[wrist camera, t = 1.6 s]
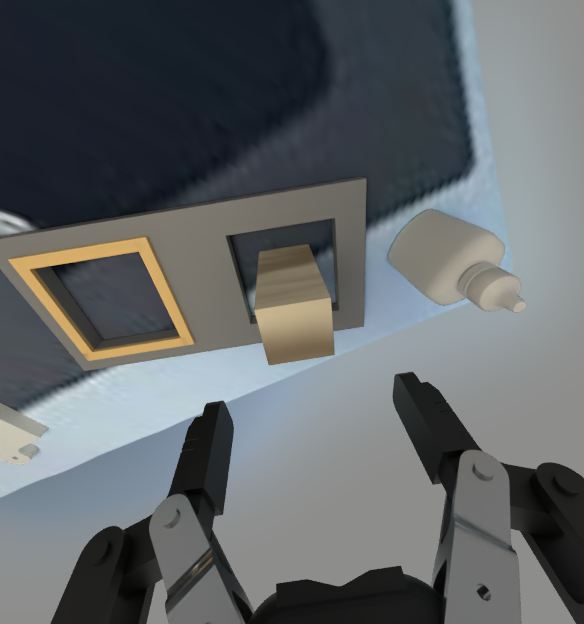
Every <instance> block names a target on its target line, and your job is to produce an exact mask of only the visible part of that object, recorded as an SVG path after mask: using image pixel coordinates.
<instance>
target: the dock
mask: <svg viewBox="0 0 584 624" xmlns="http://www.w3.org/2000/svg"><path fill="white" fill-rule="evenodd" d="M331 218H332V235H333V254H334V273H335V292H336V303H331V307H332V323H333V331H338V330H344V329H350V328H357V327H363V326H364V287H365V232H366V178H364V177H354V178H348V179H342V180H336V181H330V182H324V183H318V184H312V185H306V186H300V187H294V188H288V189H282V190H276V191H270V192H264V193H258V194H252V195H246V196H240V197H234V198H228V199H222V200H216V201H210V202H204V203H197V204H191V205H185V206H179V207H173V208H167V209H161V210H155V211H149V212H143V213H137V214H131V215H125V216H119V217H113V218H107V219H101V220H95V221H89V222H83V223H77V224H71V225H65V226H59V227H53V228H47V229H40V230H34V231H28V232H22V233H16V234H10V235H4V236H0V269H1V270H2V272H3V273H4V274H5V275H6V276H7V278H8V279H9V280H10V281H11V282H12V284H13V285H14V286H15V287H16V289H17V290H18V291H19V292H20V293H21V295H22V296H23V297H24V298H25V299H26V301H27V302H28V303H29V304H30V305H31V307H32V308H33V309H34V310H35V311H36V313H37V314H38V315H39V316H40V318H41V319H42V320H43V321H44V322H45V324H46V325H47V326H48V327H49V328H50V330H51V331H52V332H53V333H54V334H55V336H56V337H57V338H58V339H59V340H60V342H61V343H62V344H63V345H64V347H65V348H66V349H67V350H68V351H69V353H70V354H71V355H72V356H73V357H74V359H75V360H76V361H77V362H78V363H79V365H80V366H81V367H82V368H83V369H84V371H87V370H93V369H100V368H106V367H112V366H118V365H125V364H131V363H137V362H144V361H150V360H156V359H162V358H169V357H175V356H181V355H187V354H194V353H200V352H206V351H212V350H219V349H225V348H231V347H238V346H244V345H250V344H256V343H263V341H262V338H261V334H260V330H259V326H258V322H257V319H256V316H251V313H250V309H249V305H248V302H247V298H246V295H245V291H244V287H243V284H242V280H241V276H240V273H239V269H238V265H237V262H236V258H235V254H234V251H233V247H232V244H231V240H230V236H229V235H234V234H240V233H246V232H252V231H258V230H264V229H270V228H276V227H283V226H289V225H295V224H301V223H307V222H313V221H319V220H325V219H331ZM138 251H139V253H140V255H141V257H142V259H143V261H144V263H145V265H146V267H147V269H148V271H149V273H150V275H151V277H152V280H153V282H154V284H155V286H156V288H157V290H158V292H159V294H160V296H161V298H162V300H163V302H164V304H165V306H166V308H167V310H168V312H169V314H170V317H171V319H172V321H173V323H174V325H175V327H176V329H170V330H163V331H157V332H151V333H145V334H139V335H132V336H126V337H120V338H114V339H107V340H102V339H101V337H100V336H99V334H98V333H97V332H96V330H95V329H94V327H93V326H92V325H91V323H90V322H89V320H88V319H87V317H86V316H85V315H84V313H83V312H82V310H81V309H80V308H79V306H78V305H77V303H76V302H75V301H74V299H73V298H72V296H71V295H70V293H69V292H68V291H67V289H66V288H65V286H64V285H63V284H62V282H61V281H60V279H59V278H58V276H57V275H56V274H55V272H54V271H53V269H52V268H51V267H50V266H53V265H59V264H65V263H71V262H77V261H83V260H90V259H96V258H102V257H108V256H114V255H120V254H126V253H132V252H138Z"/></svg>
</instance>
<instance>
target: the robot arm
mask: <svg viewBox="0 0 584 624" xmlns="http://www.w3.org/2000/svg"><path fill="white" fill-rule="evenodd" d="M393 402H394V405H395V408H396V411H397V413H398V415H399V417H400V419H401V421H402V423H403V425H404V427H405V429H406V431H407V433H408V435H409V437H410V439H411V441H412V443H413V445H414V447H415V449H416V452H417V454H418V456H419V458H420V460H421V462H422V464H423V466H424V468H425V470H426V472H427V474H428V476H429V478H430V480H431V482H432V484H433V485H434V484H440V483H442V485H443V487H444V488H445V490H446V497H445V504H444V511H443V519H442V525H441V532H440V539H439V546H438V551H437V555H436V559H435V564H434V569H433V575H432V582H431V586H429V585H428V584H426V583H425V582H423V581H421V580H419V579H417V578H415V577H412V576H410V575H406V574H403V571H402V568H401V566H396V567H389V568H382V569H376V570H370V571H368V572H366V573H364V574H363V575H361V576H359V577H357V578H355V579H354V580H352V581H350V582H349V583H347V584H345V585H343V586H333V585H329V584H325V583H320V582H316V581H312V580H307V579H306V580H299V581H292V582H285V583H279V584H276V591H277V592H276V593H274V594H272V595H271V596H270V597H269V598H267V599H266V600H265V601H264V602H263V603H262V604H261V605H260V606H259V607H258V608H257V610H256V611H254V610H253V607H252V605H251V603H250V601H249V599H248V597H247V596H246V594H245V592H244V590H243V588H242V587H241V585H240V583H239V581H238V580H237V578H236V576H235V574H234V573H233V571H232V568H231V566H230V564H229V562H228V560H227V558H226V556H225V554H224V552H223V550H222V548H221V546H220V544H219V542H218V540H217V538H216V536H215V534H214V532H213V530H212V526H213V519H214V516H218V515H223V510H224V502H225V495H226V487H227V479H228V471H229V464H230V456H231V448H232V441H233V432H234V427H233V421H232V418H231V416H230V414H229V411H228V409H227V407H226V405H225V402H224V401H218V402H211V403H207V404H206V405H205V408H204V412H203V416H200V417H196V418H195V419H194V421H193V422H192V424H191V425H190V426H189V428H188V431H187V434H186V437H185V443H184V444H183V448H182V453H181V454H180V458H179V461H178V464H177V468H176V471H175V474H174V478H173V481H172V485H171V488H170V491H169V494H168V496H167V498H166V499H165V500H164V501H163V502H162V503H161V504H160V505H159V506H158V507H157V508H156V510H155V512H154V513H153V514H152V515H150V516H149V517H147V518H146V519H143V520H142V521H140V522H138V523H136V524H134V525H132V526H130V527H128V528H126V529H125V530H122V529H120V528H119V527H116V526H110V527H107V528H105V529H103V530H102V531H100V532H99V533H97V534H96V535H95V536H94V537H93V538H92V539H91V540H90V541H89V542H88V544H87V545H86V546H85V548H84V550H83V551H82V553H81V555H80V557H79V559H78V561H77V563H76V566H75V568H74V570H73V573H72V575H71V577H70V580H69V582H68V584H67V587H66V589H65V591H64V594H63V596H62V598H61V601H60V603H59V605H58V608H57V610H56V612H55V615H54V617H53V619H52V622H51V624H146V623H147V618H148V614H149V609H150V605H151V601H152V596H153V592H154V587H155V583H156V582H158V581H160V580H161V579H163V580H164V583H165V587H166V590H167V595H168V597H167V600H166V602H165V608H166V614H167V618H168V622H169V624H521V602H520V578H519V562H518V557H517V553H516V552H515V550H513V548H512V545H511V529H514V530H519V531H520V532H521V533H522V535H523V537H524V538H525V540H526V541H527V543H528V545H529V546H530V548H531V550H532V551H533V553H534V555H535V556H536V558H537V560H538V561H539V563H540V564H541V566H542V568H543V569H544V571H545V573H546V575H547V576H548V578H549V579H550V581H551V583H552V584H553V586H554V588H555V589H556V591H557V593H558V594H559V596H560V597H561V599H562V601H563V602H564V604H565V606H566V607H567V609H568V611H569V612H570V614H571V616H572V617H573V619H574V621H575V622H576V624H584V478H583V477H582V476H581V475H579V474H578V473H576V472H575V471H573V470H571V469H569V468H568V467H565V466H563V465H560V464H557V463H543V464H541V465H539V466H538V468H537V469H530V468H524V467H519V466H513V465H507V464H504V463H501V462H499V461H498V460H497V459H495V458H494V457H493V456H491V455H489V454H487V453H485V452H483V451H482V450H481V449H480V448H479V446H478V445H477V444H476V442H475V441H474V440H473V438H472V437H471V435H470V434H469V432H468V431H467V430H466V428H465V427H464V425H463V424H462V423H461V421H460V420H459V418H458V417H457V415H456V414H455V413H454V412H453V411H452V409H451V407H450V406H449V404H448V403H447V402H446V400H445V399H444V397H443V396H442V394H441V393H440V392H439V390H438V389H436V388H435V387H434V386H432V385H431V384H430V383H428V382H423V383H421V382H420V381H419V379H418V378H417V376H416V375H415V374H414V373H413V372H408V373H401V374H396V375H395V378H394V388H393Z"/></svg>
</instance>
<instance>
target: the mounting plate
mask: <svg viewBox="0 0 584 624" xmlns="http://www.w3.org/2000/svg"><path fill="white" fill-rule="evenodd" d="M47 429H48V427H47V426H45V425H43V424H41V423H39V422H37V421H35V420H33V419H31V418H29V417H27V416H25V415H23V414H21V413H19V412H17V411H15V410H13V409H11V408H9V407H7V406H5V405H3V404H1V403H0V460H3V461H7V462H10V463H12V464H16V465H23V464H25V463H27V462H29V461H30V460H31V459H32V458H33V456H34V455H35V454H36V452H37V451H38V450H39V448H38V447H37V446H35V445H33V444H31V442H33V441H35V440H37V439H39V438H40V437H41V436H42V435H43V434H44V432H45V431H46V430H47Z"/></svg>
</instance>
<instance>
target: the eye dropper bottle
mask: <svg viewBox="0 0 584 624" xmlns="http://www.w3.org/2000/svg"><path fill="white" fill-rule="evenodd" d="M504 252H505V246H504V243H503V242H502V241H501V240H500V239H499V238H498V237H497V236H496V235H495V234H493V233H492V232H490V231H488V230H486V229H484V228H481V227H479V226H476V225H474V224H471V223H468V222H466V221H463V220H460V219H458V218H455V217H452V216H450V215H447V214H444V213H442V212H439V211H436V210H433V209H429V210H426V211H424V212H422V213H421V214H419V215H418V216H416V217H415V218H414V219H413V220H411V221H410V222H409V223H408V224H407V225H406V226H405V227H404V228H403V229H402V230H401V232H400V233H399V234H398V236H397V237H396V239H395V241H394V242H393V244H392V246H391V248H390V251H389V254H388V261H389V263H390V264H391V265H392V266H393V267H394V268H396V269H397V270H398V271H399V272H400V273H401V274H402V275H403V276H404V277H405V278H406V279H407V280H408V281H409V282H410V283H411V284H413V285H414V286H415V287H416V288H417V289H418V290H419V291H420V292H421V293H422V294H424V295H425V296H426V297H427V298H429V299H430V300H432V301H433V302H435V303H437V304H439V305H443V306H445V305H450V304H453V303H456V302H458V301H460V300H463V299H465V298H467V299H469V300H470V301H471V302H473V303H474V304H475V305H477V306H478V307H479V308H481V309H482V310H484V311H488V312H489V311H490V312H491V311H497V310H500V309H502V308H505V309H508V310H510V311H513V312H515V313H517V312H521V311H522V310H524V309H525V307H526V306H527V303H526V302H525V301H524V300H523V299H522V298H521V297H520V296H519V295H518V294H519V292H520V290H521V282H520V280H519V278H518V277H516V276H514V275H512V274H510V273H508V272H507V271H505V270H503V269H501V268H499V267H498V266H499V264H500V262H501V260H502V258H503V255H504Z"/></svg>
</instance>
